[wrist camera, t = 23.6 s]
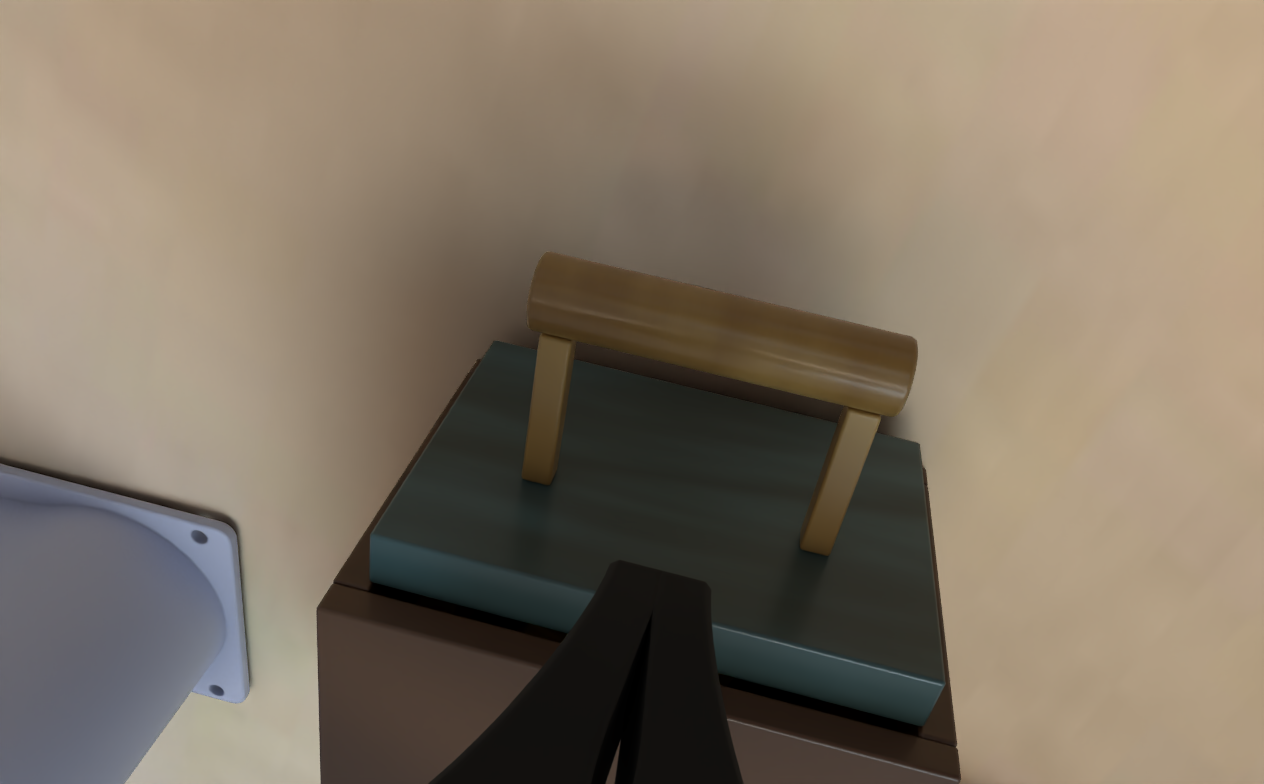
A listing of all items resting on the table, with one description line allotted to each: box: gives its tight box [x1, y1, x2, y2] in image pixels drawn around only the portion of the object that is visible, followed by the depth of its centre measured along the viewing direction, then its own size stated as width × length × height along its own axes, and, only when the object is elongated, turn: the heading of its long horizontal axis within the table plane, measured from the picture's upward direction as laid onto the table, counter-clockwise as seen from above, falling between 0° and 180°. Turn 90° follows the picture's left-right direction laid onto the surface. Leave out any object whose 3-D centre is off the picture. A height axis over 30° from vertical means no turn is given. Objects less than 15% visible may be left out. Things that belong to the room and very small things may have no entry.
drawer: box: [369, 252, 946, 726], centre depth 22 cm, size 17×10×7 cm, turn 171°
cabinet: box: [317, 359, 961, 784], centre depth 24 cm, size 13×11×9 cm
